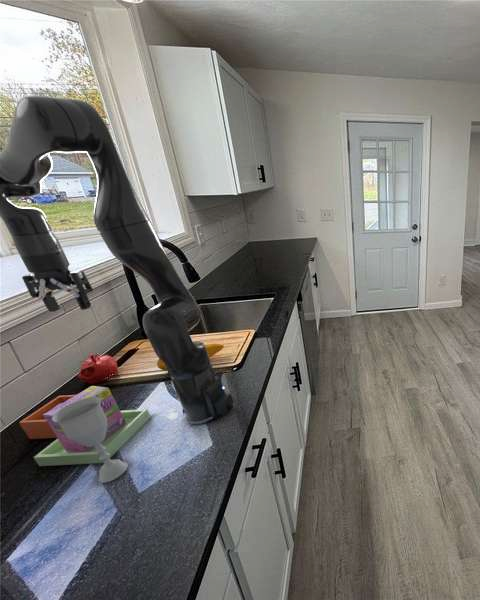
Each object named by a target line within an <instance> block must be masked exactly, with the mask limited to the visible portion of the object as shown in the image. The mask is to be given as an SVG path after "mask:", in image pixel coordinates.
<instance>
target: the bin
mask: <svg viewBox="0 0 480 600" xmlns="http://www.w3.org/2000/svg"><path fill="white" fill-rule="evenodd" d="M75 395H76V394H69V395H58V396H56V397H55V398H54V399H52V400H51V401H49V402H47V403H46V404H44V405H43V406H42V407H40V408H39V409H37V410H36V411H34V412H33V413H31V414H30V415H28V416H27V417H25V418H23V419H22V420H21V421H19V422H18V423H19V424H18V425H20V427H21V428H22V429H23V431H24V432H25V434H26V435H27V437H28V438H29V439H30V440H39V439H41V440H42V439H58V438H57V436H56V435H55V433H54V431H53V430H52V428H51V427H50V425H49V423H48V422H47V420H46V419H45V417H44V416H43V414H45V413H47V412H49V411H50V410H51V409H53V408H54V407H56V406H57V405H59V404H61V403H64V402H65V401H67V400H69V399H70V398H72V397H74V396H75Z"/></svg>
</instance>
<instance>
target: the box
mask: <svg viewBox="0 0 480 600" xmlns="http://www.w3.org/2000/svg"><path fill="white" fill-rule="evenodd" d="M74 395H75V396H74V397H72V398H70V399H69V400H67V401H65V402H64V403H62V404H60V405H59V406H57V407H55V408H54V409H52V410H50V411H49V412H47V413H45V414H43V415H44V417H45V419H46V420H47V422H48V423H49V425H50V427H51V428H52V430H53V431H54V433H55V435H56V436H57V438H56V439H59V441H60V443H61V444H62V446H63V447H64V449H65V451H66V452H69V453H79V452H89V451H90V450H91V449H92V448H94V447H95V446H93V447H87V446H84V445H82V444H79V443H76V442H75V441H73V440H71V439H69V438H68V437H67V436H66V434H65V433H64V431H63V429H62V428H61V426H60V424H59V423H57V422H55V421H52V417H53V416H54V414H56V413H57V412H58V411H59V410H61V409H62V408H64V407H66V406H68V405H70V404H72V403H74V402H76V401H79V400H82V399H85V398H90V397H99V398H101V403H100V406H101V408H102V410H103V411H104V413H105V415H106V417H107V430H106V435H105V439H106V438H107V437H108V436H110V435H111V434H112V433H114V432H115V431H116V430H117V429H119V428H120V427H121V426H123V425H124V424H125V423H126V422H125V420H124V418H123V416H122V414H121V412H120V411H121V410H120V407H119V406H118V404H117V402H116V400H115V398H114V396H113V393H112V392H111V390H110V388H109V387H105V386H97V385H90V386H89V387H87V388H86V389H84V390H82V391H81V392H79V393H77V394H74Z"/></svg>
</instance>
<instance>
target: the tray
mask: <svg viewBox="0 0 480 600" xmlns="http://www.w3.org/2000/svg"><path fill="white" fill-rule="evenodd" d="M120 412H121V414H122V416H123V418H124V420H125V422H126V423H125V424H124V425H123V426H121V427H120V428H119V429H117V430H116V431H115V432H114V433H112V434H111V435H110V436H108V437H107V438H106V439H104V440H103V441H102V442H101V445H102V446H103V447H106V449H105V452H106V453H110V455H109V459H110V460H111V458H112V457H113V456H114V455H115V454H116V453H117V452H118V451H119V450H120V449H121V448H122V447H123V446H124V445H125V444H126V443H127V442H128V441H130V439H131V438H132V437H133V436H134V435H135V434H136V433H137V432H138V431H139V430H140V429H141V428H142V427H143V426H144V425H145V424H146V423H147V422H148V421H150V419H151V418H152V416H151V413H150V412H149V410H148V409H147V408H143V409H125V410H120ZM99 458H100V454H98V453H96V447H94V448H92V449H91V450H90V451H89V452H79V453H69V452H66V451H65V449H64V447H63V446H62V444H61V443H60V441H59V439H58V438H55V440H53V441H52V442H51V443H50V444H49V445H47V446H46V447H45V448H44V449H42V450H41V451H39V452H38V453H37V454H36V455H34V456H33V459H34V460H35V462H36V464H37V466H38V467H50V466H51V467H52V466H69V465H71V466H72V465H86V464H90V465H91V464H104V461H103V460H99Z"/></svg>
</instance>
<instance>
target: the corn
mask: <svg viewBox="0 0 480 600" xmlns="http://www.w3.org/2000/svg"><path fill="white" fill-rule="evenodd" d="M204 345H205V347H206V349H207V352H208V356H209V358H211V357H213V356H214V355H217V353H219V352H222V350H223V349H224V344H221V343H209V344H208V343H207V344H204ZM156 365H157V368H158V369H160V370H163V371H167V368H166V366H165V364H164V362H163V361H162V360H160V359H159V358H158V360H157V362H156Z"/></svg>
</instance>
